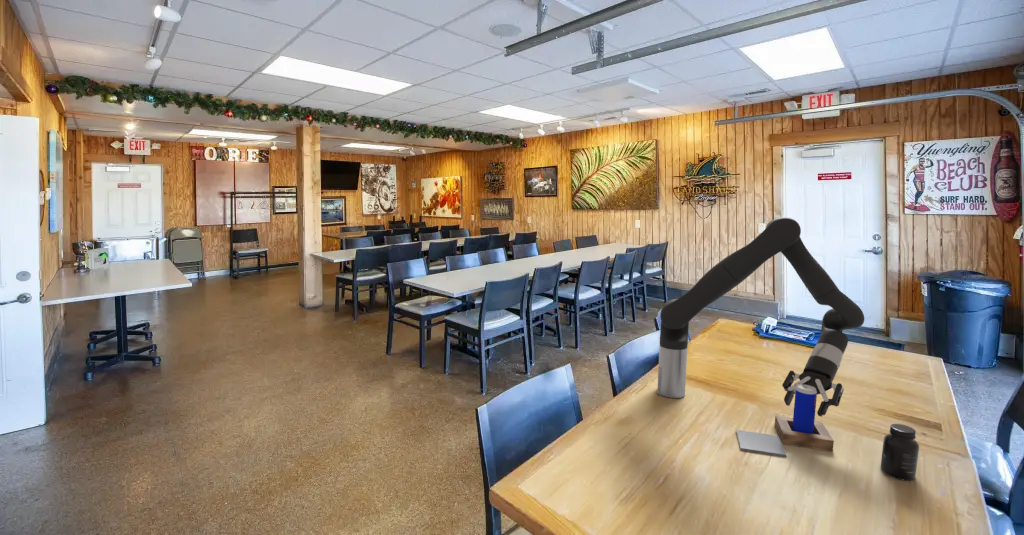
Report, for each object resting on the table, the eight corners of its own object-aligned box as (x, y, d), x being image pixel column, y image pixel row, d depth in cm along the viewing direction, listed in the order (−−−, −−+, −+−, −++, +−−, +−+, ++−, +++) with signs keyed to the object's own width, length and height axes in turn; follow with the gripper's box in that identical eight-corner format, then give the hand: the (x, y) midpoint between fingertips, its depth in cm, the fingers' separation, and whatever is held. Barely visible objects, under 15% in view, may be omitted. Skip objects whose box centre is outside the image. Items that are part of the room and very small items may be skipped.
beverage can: (815, 442, 133) (820, 391, 131) (795, 440, 134) (800, 390, 132) (808, 433, 138) (812, 384, 136) (789, 432, 139) (793, 383, 137)
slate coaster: (740, 449, 129) (740, 447, 129) (736, 431, 139) (736, 429, 139) (786, 457, 126) (786, 454, 126) (778, 437, 136) (778, 435, 136)
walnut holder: (782, 443, 132) (783, 433, 132) (774, 424, 144) (775, 415, 143) (832, 451, 129) (833, 440, 128) (820, 431, 140) (821, 421, 139)
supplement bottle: (873, 466, 121) (878, 421, 120) (898, 465, 122) (903, 420, 120) (897, 482, 114) (902, 435, 113) (923, 480, 115) (929, 433, 113)
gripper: (794, 349, 143) (772, 394, 138) (849, 362, 132) (827, 412, 127) (801, 362, 147) (780, 407, 142) (854, 376, 135) (834, 425, 130)
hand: (802, 409), depth 134 cm, fingers open, 8 cm apart
